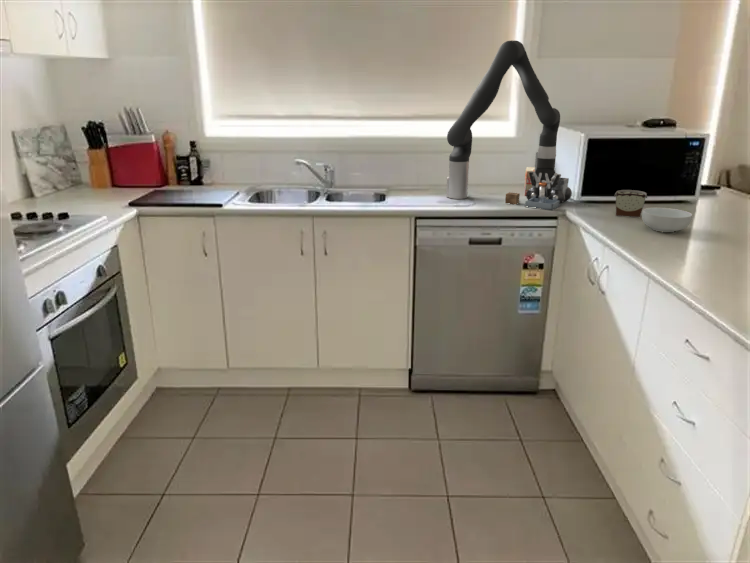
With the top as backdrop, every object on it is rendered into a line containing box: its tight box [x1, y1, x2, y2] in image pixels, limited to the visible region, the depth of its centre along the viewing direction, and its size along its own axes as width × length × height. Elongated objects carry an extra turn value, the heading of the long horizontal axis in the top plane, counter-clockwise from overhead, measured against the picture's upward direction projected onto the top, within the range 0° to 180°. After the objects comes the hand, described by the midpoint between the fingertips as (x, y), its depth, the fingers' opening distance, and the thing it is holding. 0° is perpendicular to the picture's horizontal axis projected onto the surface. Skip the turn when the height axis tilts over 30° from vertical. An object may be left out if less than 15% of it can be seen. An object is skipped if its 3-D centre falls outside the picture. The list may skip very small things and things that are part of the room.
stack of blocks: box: [523, 166, 538, 197], centre depth 285 cm, size 21×6×12 cm, turn 167°
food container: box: [613, 189, 648, 218], centre depth 238 cm, size 12×6×10 cm, turn 71°
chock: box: [505, 191, 521, 205], centre depth 263 cm, size 5×4×4 cm
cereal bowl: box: [641, 206, 693, 233], centre depth 215 cm, size 17×17×7 cm
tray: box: [524, 198, 561, 211], centre depth 255 cm, size 12×9×3 cm
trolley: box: [525, 151, 573, 206], centre depth 261 cm, size 17×12×22 cm
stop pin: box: [538, 182, 547, 203], centre depth 254 cm, size 4×4×10 cm
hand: (543, 196), depth 254 cm, fingers open, 4 cm apart
